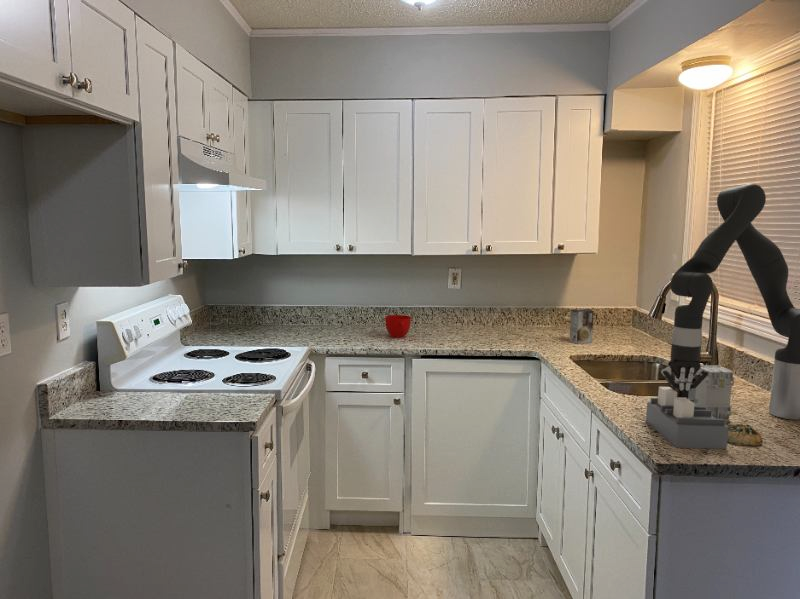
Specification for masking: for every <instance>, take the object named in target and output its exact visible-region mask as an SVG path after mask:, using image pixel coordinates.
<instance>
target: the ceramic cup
mask: <svg viewBox="0 0 800 599" xmlns="http://www.w3.org/2000/svg"><path fill="white" fill-rule="evenodd" d="M384 319H385V328H386V331H387V332H388V335H390V337H392V338H396V339H400V338H401V339H402V338H405V336H407V334H408V333H409V330H410V328H411V323H412V317H411V316H410V315H405V314H391V315H386V316H385V317H384Z"/></svg>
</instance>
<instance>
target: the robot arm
mask: <svg viewBox="0 0 800 599" xmlns="http://www.w3.org/2000/svg"><path fill="white" fill-rule="evenodd" d="M716 198H717V199H716V205H717V209H718V210H717V211H718V212H719V214H720V216H721V218H722V220H723V222H722V223H721V224H720V225H719V226H717V227H716V228H715V229H713V230H712V231H711V232H710V233H709V234H708V235H707V236H706V237H704V239H703V240H702V241H701V242H700V244H699V246H698V247H697V249H696V250H695V252H694V254H693V255H692V257H691V258H690V259H688V260H687V261H686V262H685V263H684V264H683V265H681V266H680V267H679V268H678V269H677V270H676V271H675V272H674V273H673V275H672V277H671V279H670V282H669V284H670V285H669V286H670V287H669V288H670V290H671V292H672V293H673V294H674V295H676V296H680V297H686V298H691V300H690V302H689V303H688V304H682V305H681V304H680V305H678V306H677V307H676V308H675V310H674V320H673V329H672V335H671V344H670V345H671V346H670V360H669V362H668V364H667V365H668V366H666V367H665V368H660V370H659V372H660V373H661V375H662V376H663V377H664V378H665V380H666V381H667V383H668V384H669V386H671V388H674V389H675V391H676V392H677V397H686V398H687V399H688V394H689V390H690V389H692V388H694V389H695V388H696V387H697V386H698V385H699V384H700V383H701V382H702V381H703V380H704V379H705V377H706V376H707V375H708V372H706V371H704V370H703V369H702V368H701V363H700V361H701V353H702V344H703V331H702V330H703V317H704V312H705V309H706V307H707V304H708V302H709V299H710V297H711V295H712V292H713V288H714V283H713V280H712V277H711V276H710V275H709V274H713V273H714V272H716V271H717V269H718V268H719V266H720V264H721V263H722V261H723V260H724V258H725V256H726V255H727V253H728V251H729V250H730V248H731V247H732V246H733V244H734V243H735V242H736V244H737V245H738V247H739V249H740V251H741V254H742V255H743V257H744V260H745V262H746V264H747V267H748V269H749V272H750V274H751V275H752V277H753V279H754V281H755V283H756V285H757V288H758V291H759V293H760V295H761V298H762V299H763V302H764V304H765V308H766V311H767V314H768V317H769V320H770V323H771V326H772V328H773V329H774V331H775V333H776V334H778V335H779V336H782V337H785V338H788V340H787V343H786V346H785V347H784V348H783V347H781V348H778V349H776V350H775V352H774V360H773V361H774V362H773V372H772V380H771V381H772V382H771V389H770V398H769V406H768V407H769V410H768V413H769V414H770V415H772V416H775V417H777V418H780V419H787V420H793V421H794V420H795V421H796V420H797V421H799V420H800V308H798V307H797V308H796V306H794V304H793V303H792V301H791V298H790V296H789V294H788V291H787V283H788V279H789V267H788V264H787V261H786V259H785V257H784V255H783V252H782V250H781V249H780V248H779V246H778V245H777V244H776V243H774V242H773V241H772V240H771V239H769V237H767V236H765V235H764V234H762V232H760V231H759V230H758V229H757V228H755V226H754V224H752V222H753V221H754V220H755V219H756V218H757V216H758V217H759V214H761V212H762V211H763V209H764V207H765V205H766V202H767V199H766V198H767V197H766V192H765V191H764V188H763V187H761V186H760V185H759V184H757V183H747V184H741V185H738V186H734V187H733V186H732V187H729V188H725V189H723V190H721V191H720V192H719V193H718V195H717V197H716ZM672 373H673V375H674V378H673V377H672ZM695 374H696V375H695ZM694 375H695V377H694V378H693V376H694ZM692 378H693V379H692Z"/></svg>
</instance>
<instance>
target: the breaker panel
mask: <svg viewBox="0 0 800 599" xmlns="http://www.w3.org/2000/svg"><path fill="white" fill-rule="evenodd" d="M689 400H690V401H692V402H693V403H694V399H689ZM673 409H674V406H669V405H661V406H660V405H659V404H658V397H650V401H647V402H646V412H645V413H646V415H645V422H646V423H647V424H648V425H649V426H651V427H652V428H653V429H654V430H655V431H657V432H658V433H659V434H660V435H661V436H662V437H663V438H664V439H665V440H667V441H668V442H669V443H670V444H671V445H673V446H674V448H678V449H679V448H680V449H681V448H683V449H711V450H712V449H716V450H719V449H720V450H721V449H722V450H727V445H728V442H727V439H728V429H729V427H728V426H727V424H726V421H725V420H724V419H718V418H714V417H713V416H711V412H712V411H711V410H706V407H704V406H696V405H695V404H694V415H693V418H682V417H677V418H676V417H675V416H674V415H673Z"/></svg>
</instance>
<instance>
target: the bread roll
mask: <svg viewBox="0 0 800 599" xmlns="http://www.w3.org/2000/svg"><path fill="white" fill-rule="evenodd" d="M726 425H727V426H728V427H729V429H728V439H727V443H730V442H731V444H733V443H735V444H734V445H739V446H751V447H754V446H755V447H757V446H760V445H762V443H763V437H762V435H761V434H760V433H759V431H757V430H756V429H755V428H753V427H752V426H751V425H750V424H745V425H744V424H742V423H736V424H734V423H733V424H726Z"/></svg>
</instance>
